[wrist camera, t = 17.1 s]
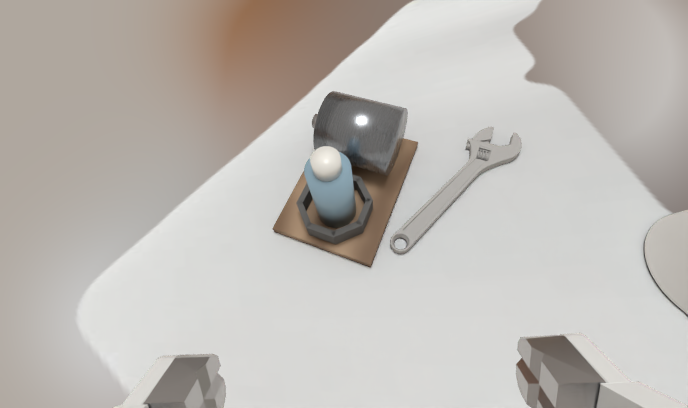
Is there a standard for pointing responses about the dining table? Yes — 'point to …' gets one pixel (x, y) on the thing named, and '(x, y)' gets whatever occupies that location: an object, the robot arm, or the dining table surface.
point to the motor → (361, 130)
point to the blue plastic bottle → (331, 186)
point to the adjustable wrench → (458, 184)
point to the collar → (345, 231)
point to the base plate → (384, 200)
